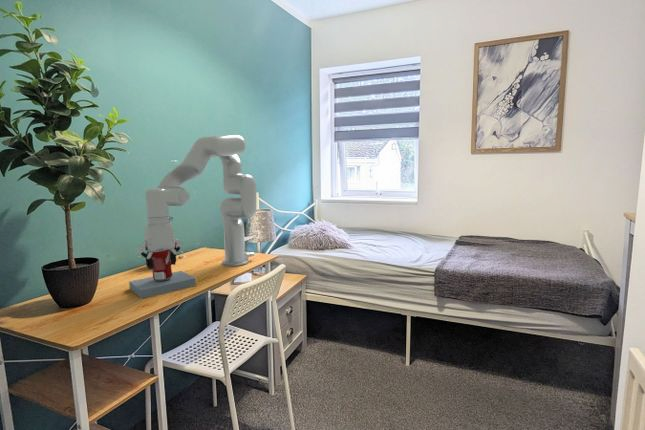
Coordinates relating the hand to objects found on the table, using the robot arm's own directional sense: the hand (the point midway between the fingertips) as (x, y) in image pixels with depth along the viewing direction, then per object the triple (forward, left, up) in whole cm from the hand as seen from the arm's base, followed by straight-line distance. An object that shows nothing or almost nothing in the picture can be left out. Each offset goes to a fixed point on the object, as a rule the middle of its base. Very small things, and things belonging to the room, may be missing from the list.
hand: (161, 266), depth 138 cm
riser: (0, 0, -8) cm, 8 cm away
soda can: (0, 0, -5) cm, 5 cm away
